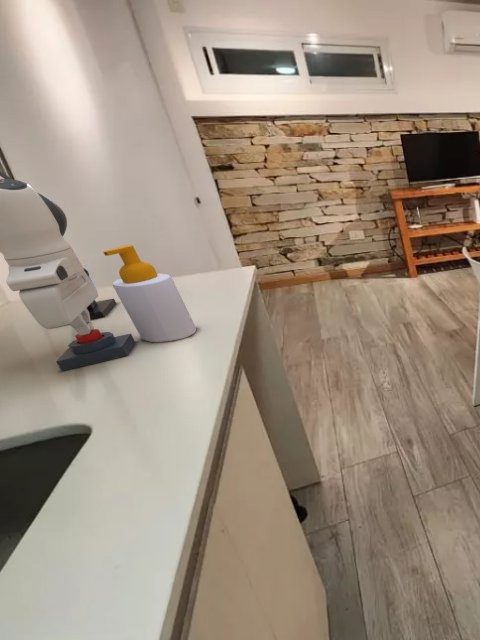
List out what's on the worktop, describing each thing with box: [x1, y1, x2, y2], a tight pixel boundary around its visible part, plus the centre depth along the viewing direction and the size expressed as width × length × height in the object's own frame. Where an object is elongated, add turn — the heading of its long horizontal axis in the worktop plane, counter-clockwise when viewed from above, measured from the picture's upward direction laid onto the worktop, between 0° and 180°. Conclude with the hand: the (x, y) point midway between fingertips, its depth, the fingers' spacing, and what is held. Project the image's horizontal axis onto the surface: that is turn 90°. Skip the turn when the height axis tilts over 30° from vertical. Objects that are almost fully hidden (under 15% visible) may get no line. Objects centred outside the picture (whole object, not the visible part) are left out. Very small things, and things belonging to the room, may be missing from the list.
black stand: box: [87, 298, 117, 321], centre depth 119 cm, size 12×10×16 cm
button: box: [74, 328, 103, 344], centre depth 97 cm, size 4×4×2 cm
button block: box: [55, 331, 136, 372], centre depth 98 cm, size 10×8×4 cm
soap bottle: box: [102, 244, 197, 343], centre depth 103 cm, size 13×8×20 cm, turn 73°
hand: (87, 332), depth 97 cm, fingers closed
